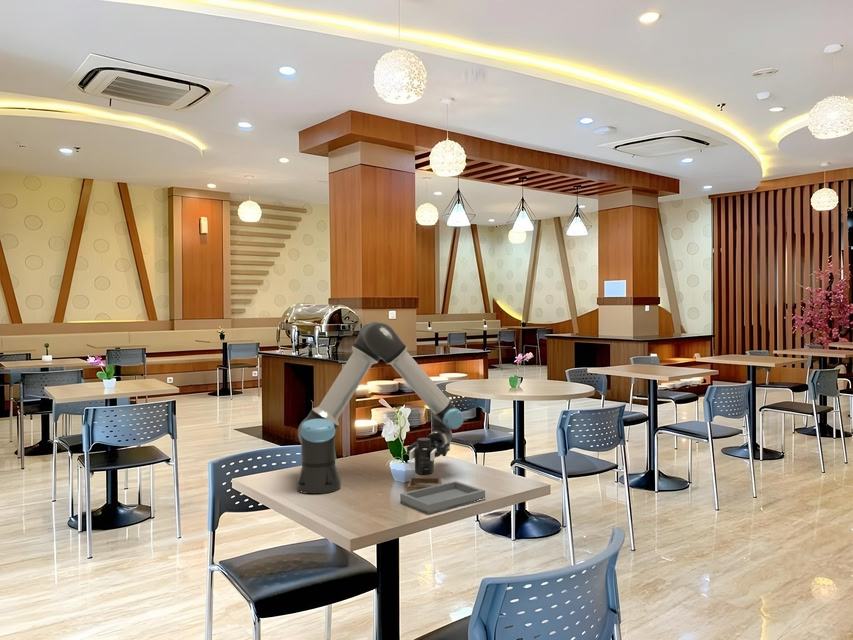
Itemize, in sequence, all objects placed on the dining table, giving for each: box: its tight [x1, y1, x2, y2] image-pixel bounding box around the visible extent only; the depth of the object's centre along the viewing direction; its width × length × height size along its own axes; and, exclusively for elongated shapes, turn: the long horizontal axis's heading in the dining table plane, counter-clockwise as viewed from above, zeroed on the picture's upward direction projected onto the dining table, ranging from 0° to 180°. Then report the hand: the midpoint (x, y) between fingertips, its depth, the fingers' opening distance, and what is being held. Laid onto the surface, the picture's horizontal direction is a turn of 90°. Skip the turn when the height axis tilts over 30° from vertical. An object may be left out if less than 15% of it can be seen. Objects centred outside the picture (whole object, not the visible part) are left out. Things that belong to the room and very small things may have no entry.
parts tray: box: [399, 480, 486, 515], centre depth 200 cm, size 15×23×3 cm, turn 127°
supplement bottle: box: [414, 437, 435, 476], centre depth 216 cm, size 7×7×12 cm
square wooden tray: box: [406, 477, 442, 492], centre depth 216 cm, size 11×11×2 cm
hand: (420, 456), depth 211 cm, fingers closed on supplement bottle, 7 cm apart
